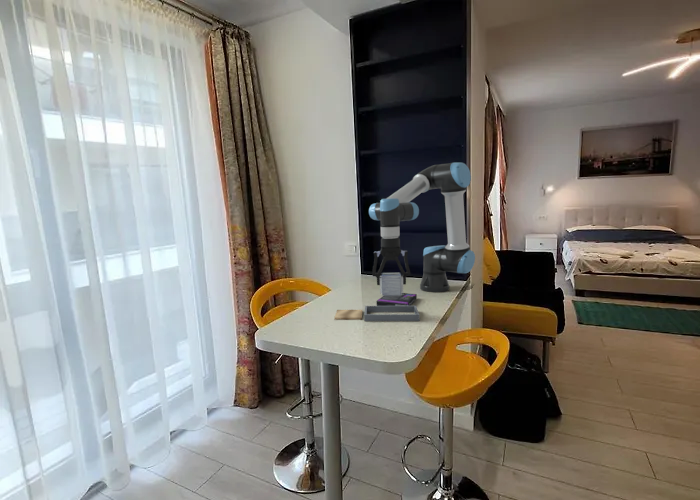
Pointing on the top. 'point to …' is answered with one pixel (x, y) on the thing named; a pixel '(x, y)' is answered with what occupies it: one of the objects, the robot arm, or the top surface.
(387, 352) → the top surface
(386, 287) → the medicine box
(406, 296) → the box
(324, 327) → the top surface
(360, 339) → the top surface
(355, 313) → the pad
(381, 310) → the bin
